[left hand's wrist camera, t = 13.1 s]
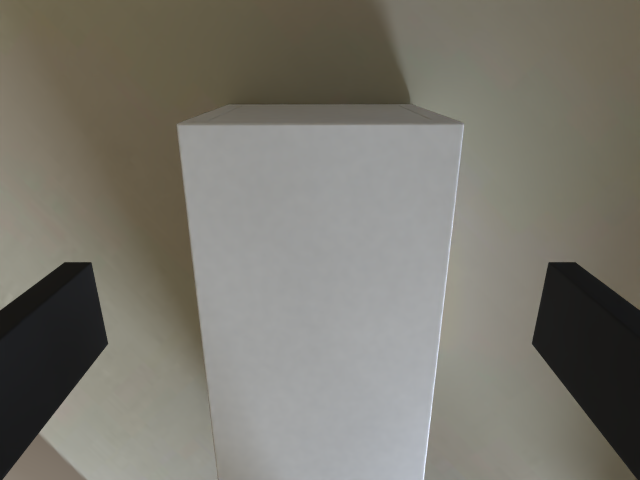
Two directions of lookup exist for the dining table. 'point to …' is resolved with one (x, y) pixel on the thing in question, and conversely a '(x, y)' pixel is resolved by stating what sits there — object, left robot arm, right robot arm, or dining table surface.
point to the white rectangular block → (320, 283)
